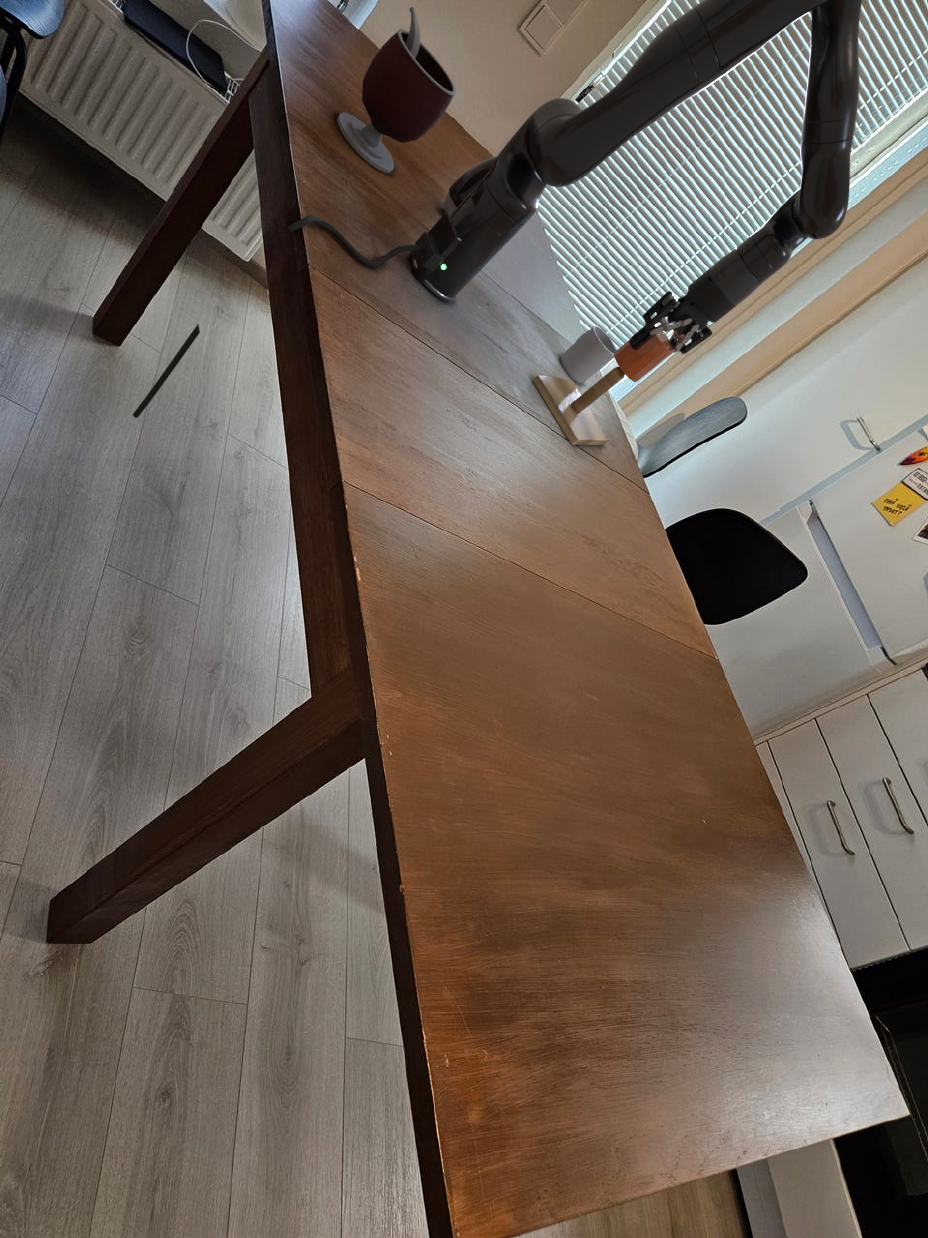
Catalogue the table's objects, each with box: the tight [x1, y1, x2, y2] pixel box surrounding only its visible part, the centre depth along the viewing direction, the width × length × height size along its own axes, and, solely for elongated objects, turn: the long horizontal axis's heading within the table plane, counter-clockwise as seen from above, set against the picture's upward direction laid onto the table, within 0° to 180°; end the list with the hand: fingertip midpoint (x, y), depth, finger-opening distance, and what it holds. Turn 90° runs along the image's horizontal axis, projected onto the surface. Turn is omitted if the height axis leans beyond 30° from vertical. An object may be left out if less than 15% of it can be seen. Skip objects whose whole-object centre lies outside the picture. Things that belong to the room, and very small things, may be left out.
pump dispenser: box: [443, 155, 498, 214], centre depth 152 cm, size 10×10×15 cm
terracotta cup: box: [613, 323, 674, 383], centre depth 139 cm, size 6×6×8 cm
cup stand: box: [532, 365, 626, 446], centre depth 145 cm, size 14×14×13 cm
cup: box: [560, 325, 618, 384], centre depth 160 cm, size 7×10×9 cm
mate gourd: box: [336, 6, 457, 174], centre depth 137 cm, size 16×14×20 cm
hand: (642, 353), depth 139 cm, fingers closed on terracotta cup, 6 cm apart
